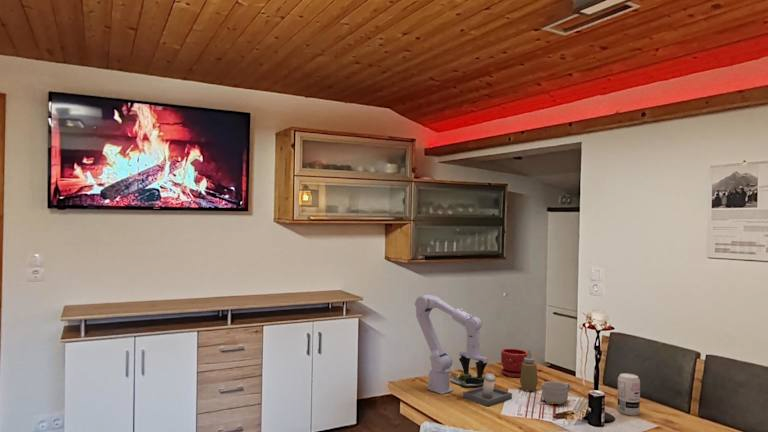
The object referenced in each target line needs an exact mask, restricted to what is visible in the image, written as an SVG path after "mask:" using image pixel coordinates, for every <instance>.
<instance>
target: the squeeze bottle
mask: <svg viewBox="0 0 768 432" xmlns="http://www.w3.org/2000/svg"><path fill="white" fill-rule="evenodd" d="M526 352H527V357H525V358H524V362H523V363H522V368H521V377H520V380H519V382H520V383H519V384H520V385H521V388H522V390H523V391H526V392H535V391H536V390H537V387H538V384H539V381H538V379H539V377H538V368H537V364H536V363H535V358H534V357H532V351H531V350H530V349H529V350H527V351H526Z"/></svg>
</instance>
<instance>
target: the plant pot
mask: <svg viewBox="0 0 768 432" xmlns="http://www.w3.org/2000/svg"><path fill="white" fill-rule="evenodd" d="M527 352H528V351H526V350H523V349H518V348H517V349H516V348H504V349H501V353H500V359H501V366H502V369H501V372H502V373H503V374H504V375H505V376H507V377H512V378H513V377H514V378H519V377H521V368H522V363H523V362H524V358H525V357H527Z"/></svg>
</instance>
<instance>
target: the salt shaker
mask: <svg viewBox="0 0 768 432" xmlns="http://www.w3.org/2000/svg"><path fill="white" fill-rule="evenodd" d="M483 377H484V383H483V386H482V387H483V391H482V395H483V396H484V397H486V398H491V397H492V396H493V390H494V388H495V383H496V382H495V381H496V376H495V374H494V373H490V372H487V373H484V376H483Z"/></svg>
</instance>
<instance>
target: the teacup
mask: <svg viewBox="0 0 768 432" xmlns="http://www.w3.org/2000/svg"><path fill="white" fill-rule="evenodd" d="M571 387H572V386H571V384H570V383H568V382H565V383H564V382H560V381H543V382H542V383H541V392H542V393H541V394H542V398H543V400H544V401H545V402H546V403H547V404H549V403H550V405H553V404H552V403H556V404H558V405H557V406H559V405H563V404H565V402H567V401H568V397H569V392H570V391H571Z"/></svg>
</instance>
